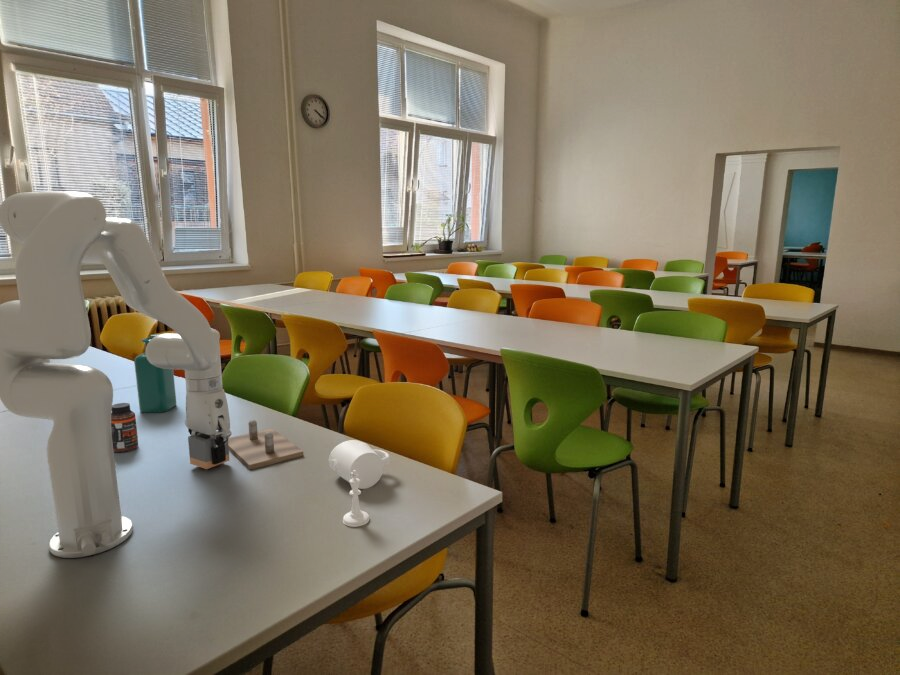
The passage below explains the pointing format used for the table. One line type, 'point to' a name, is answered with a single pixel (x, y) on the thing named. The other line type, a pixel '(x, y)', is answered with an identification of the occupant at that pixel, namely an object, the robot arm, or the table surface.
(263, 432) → the pin board
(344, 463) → the mug
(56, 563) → the table surface
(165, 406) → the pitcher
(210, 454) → the sleeve
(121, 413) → the supplement bottle
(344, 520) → the chess piece
